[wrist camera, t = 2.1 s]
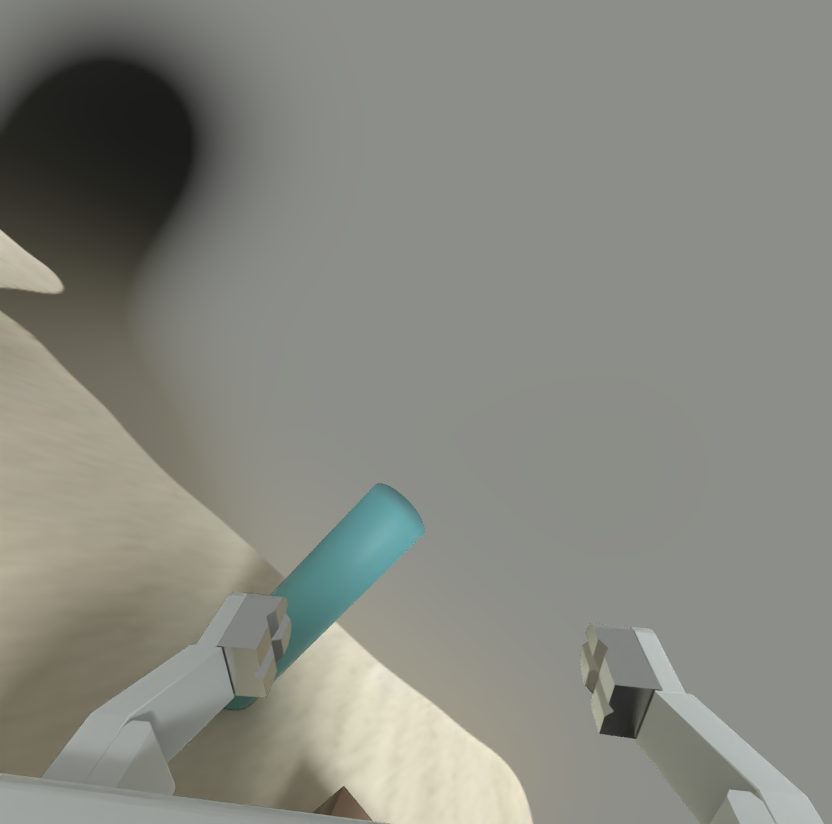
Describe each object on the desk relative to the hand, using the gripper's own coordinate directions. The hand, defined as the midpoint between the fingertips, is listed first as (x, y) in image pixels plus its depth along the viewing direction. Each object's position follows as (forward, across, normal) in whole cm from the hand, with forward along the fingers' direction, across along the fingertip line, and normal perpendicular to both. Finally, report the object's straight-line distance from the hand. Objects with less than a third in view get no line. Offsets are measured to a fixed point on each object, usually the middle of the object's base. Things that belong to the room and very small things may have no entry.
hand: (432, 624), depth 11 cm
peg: (+10, +14, +20) cm, 26 cm away
